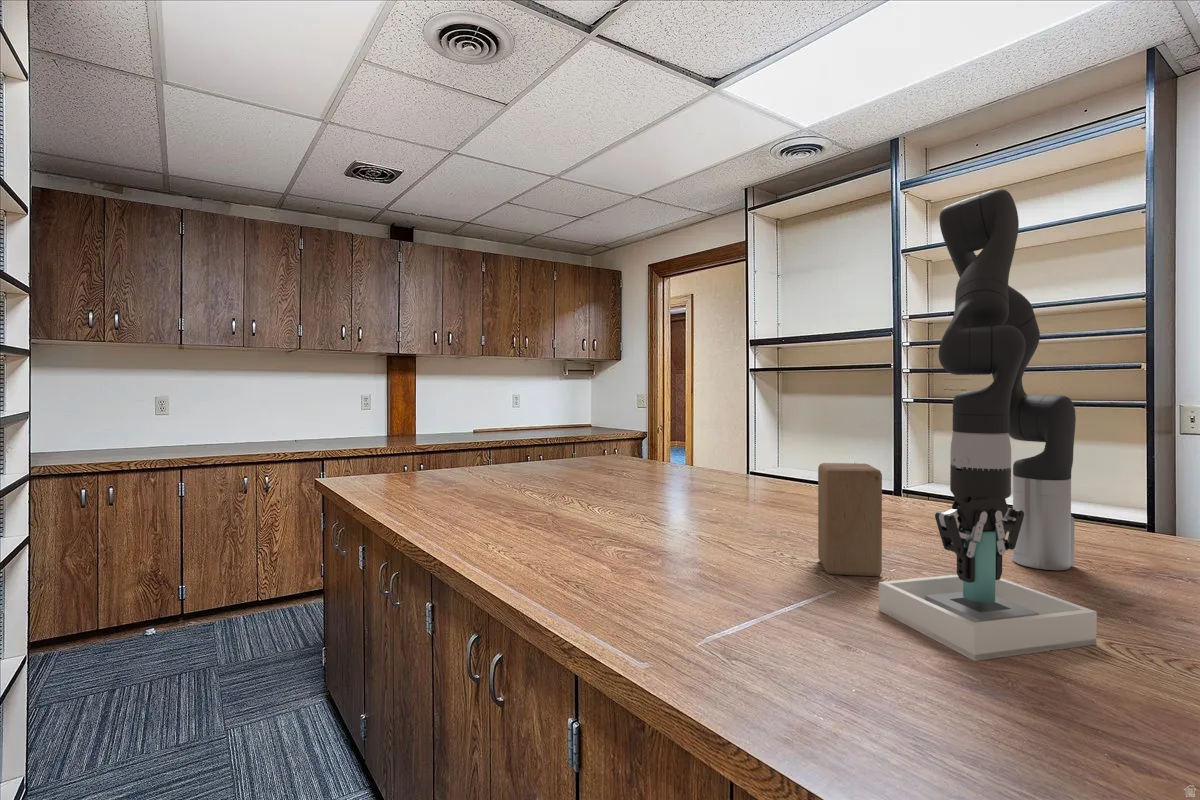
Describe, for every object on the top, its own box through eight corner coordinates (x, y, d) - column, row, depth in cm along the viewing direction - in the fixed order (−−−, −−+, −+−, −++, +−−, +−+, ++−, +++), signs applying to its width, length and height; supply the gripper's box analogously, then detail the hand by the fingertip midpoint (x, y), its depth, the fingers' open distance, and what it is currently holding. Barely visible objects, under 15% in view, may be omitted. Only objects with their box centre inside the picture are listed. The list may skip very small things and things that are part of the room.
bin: (983, 599, 99) (983, 572, 99) (1096, 644, 82) (1096, 611, 81) (878, 610, 94) (878, 582, 94) (974, 661, 77) (974, 626, 77)
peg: (978, 592, 90) (979, 526, 90) (1002, 601, 87) (1002, 532, 86) (956, 594, 89) (957, 527, 89) (979, 603, 86) (979, 534, 85)
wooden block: (883, 578, 110) (883, 469, 110) (825, 575, 112) (825, 468, 112) (870, 562, 120) (870, 463, 119) (817, 560, 122) (817, 462, 121)
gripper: (997, 458, 93) (996, 568, 93) (919, 461, 90) (918, 575, 90) (1043, 464, 85) (1042, 584, 86) (960, 468, 82) (959, 592, 83)
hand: (979, 579), depth 88 cm, fingers closed on peg, 4 cm apart
